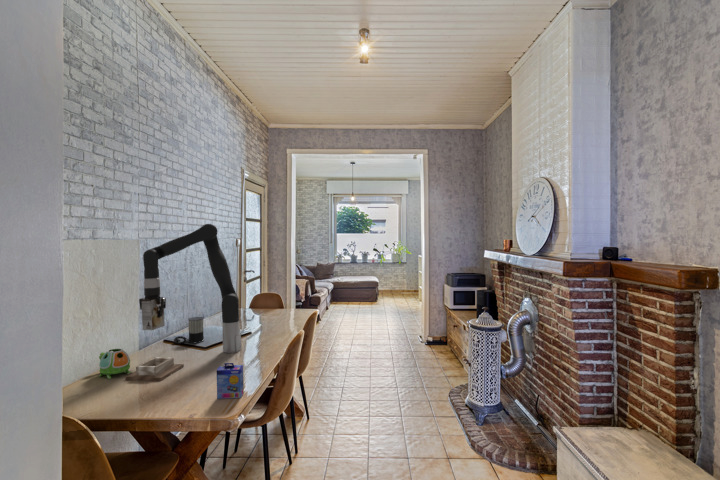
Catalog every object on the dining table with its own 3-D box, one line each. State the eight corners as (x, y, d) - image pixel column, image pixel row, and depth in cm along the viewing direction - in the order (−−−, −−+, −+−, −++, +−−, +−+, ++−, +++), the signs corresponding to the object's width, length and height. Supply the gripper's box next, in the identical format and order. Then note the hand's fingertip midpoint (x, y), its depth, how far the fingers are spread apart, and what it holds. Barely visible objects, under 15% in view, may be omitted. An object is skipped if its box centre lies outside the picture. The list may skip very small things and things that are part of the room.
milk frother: (207, 340, 238) (206, 317, 238) (184, 347, 225) (183, 322, 225) (194, 337, 246) (193, 315, 246) (171, 343, 233) (170, 320, 232)
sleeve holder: (183, 366, 191) (183, 356, 191) (161, 380, 173) (160, 369, 173) (150, 366, 193) (150, 355, 193) (125, 379, 175) (125, 368, 175)
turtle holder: (115, 366, 193) (114, 343, 193) (136, 372, 185) (135, 348, 184) (88, 374, 182) (88, 350, 182) (109, 381, 174) (108, 355, 174)
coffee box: (154, 325, 205) (153, 296, 204) (165, 326, 203) (163, 296, 203) (141, 330, 196) (140, 299, 195) (152, 330, 194) (151, 300, 194)
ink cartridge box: (216, 399, 152) (215, 364, 152) (220, 393, 158) (219, 360, 157) (241, 398, 153) (240, 363, 153) (244, 392, 159) (243, 358, 158)
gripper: (169, 285, 202) (170, 315, 202) (144, 285, 204) (145, 315, 204) (160, 287, 195) (161, 319, 195) (134, 287, 196) (135, 319, 197)
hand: (153, 317), depth 200 cm, fingers closed on coffee box, 6 cm apart
